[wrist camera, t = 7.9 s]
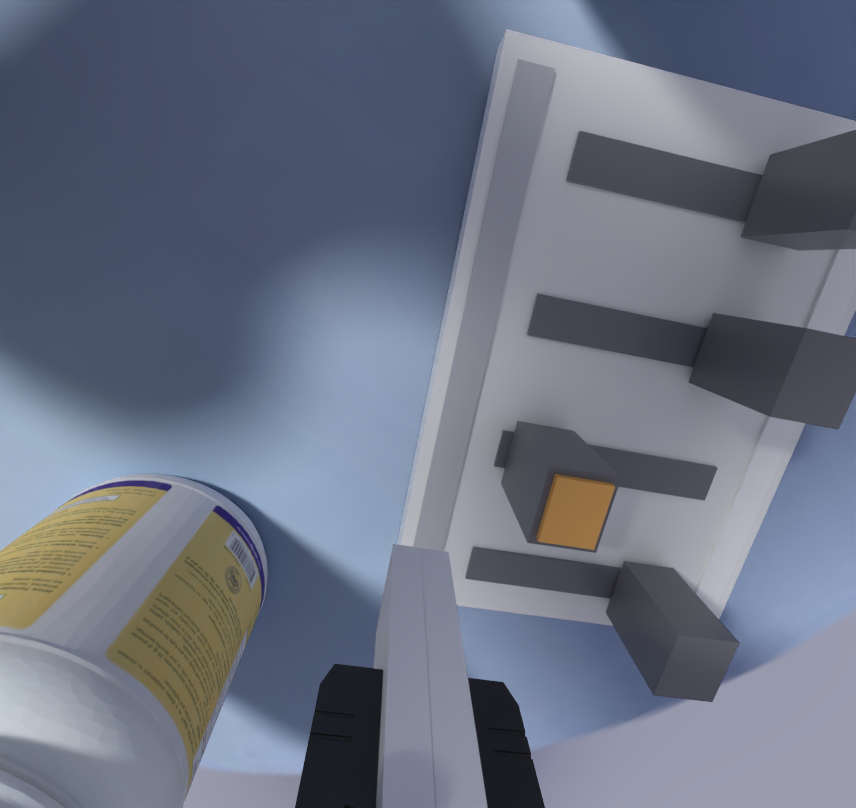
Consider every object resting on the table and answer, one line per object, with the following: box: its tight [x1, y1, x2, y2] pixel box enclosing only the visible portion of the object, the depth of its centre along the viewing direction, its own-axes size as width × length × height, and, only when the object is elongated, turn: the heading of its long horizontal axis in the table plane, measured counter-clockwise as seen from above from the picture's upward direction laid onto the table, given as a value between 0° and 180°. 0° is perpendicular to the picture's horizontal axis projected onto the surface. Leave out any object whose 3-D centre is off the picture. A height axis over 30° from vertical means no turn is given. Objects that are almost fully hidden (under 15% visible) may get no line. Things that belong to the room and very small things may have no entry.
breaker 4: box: [688, 313, 856, 429], centre depth 21 cm, size 3×4×6 cm
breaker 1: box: [501, 421, 621, 553], centre depth 22 cm, size 3×4×6 cm
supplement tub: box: [0, 474, 268, 808], centre depth 20 cm, size 12×12×17 cm
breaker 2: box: [606, 561, 739, 702], centre depth 25 cm, size 3×4×6 cm
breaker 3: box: [741, 130, 856, 251], centre depth 19 cm, size 3×4×6 cm
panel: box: [397, 29, 856, 626], centre depth 25 cm, size 20×28×2 cm
